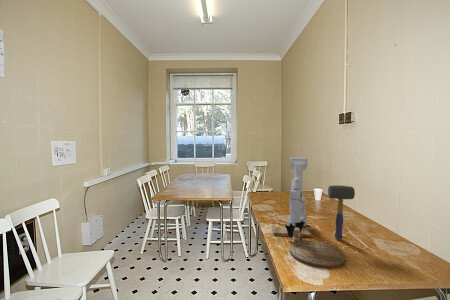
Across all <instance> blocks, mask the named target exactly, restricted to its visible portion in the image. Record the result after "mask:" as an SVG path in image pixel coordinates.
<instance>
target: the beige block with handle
mask: <svg viewBox="0 0 450 300" xmlns="http://www.w3.org/2000/svg"><path fill="white" fill-rule="evenodd" d="M291 239H292V241H294V242H297V241H301V237H300V230H299V228H298V227H296V226H295V229H294V232H293V238H291Z"/></svg>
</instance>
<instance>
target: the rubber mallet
mask: <svg viewBox="0 0 450 300" xmlns="http://www.w3.org/2000/svg"><path fill="white" fill-rule="evenodd" d="M327 195H328V198H330V199H336V200H337V212H336V216H335V232H334V238H335V240H337V241H341V240H342V239H343V237H344V236H343V225H344V214H343V210H344V209H343V205H344V200H354V198H355V195H356V192H355V188H354V187H353V186H349V185H340V184H339V185H334V184H333V185H329V186H328V188H327Z"/></svg>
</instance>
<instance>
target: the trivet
mask: <svg viewBox="0 0 450 300" xmlns="http://www.w3.org/2000/svg"><path fill="white" fill-rule="evenodd" d="M289 254H290V256H291V257H292V258H294V259H295V260H296V261H298V262H300V263H301V264H304V265H307V266H310V267H313V268H318V269H337V268H341V267H342V266H343V265H345V264H346V261H347V260H346V258H347V257H346V255H345V253H344V252H343V251H342V250H341V249H339V248H338V247H335V246H333V245H332V244H328V243H326V242H322V241H318V240H317V241H315V240H306V239H304V240H303V239H302V240H300V241H294V242H292V243H291V244H290V245H289Z"/></svg>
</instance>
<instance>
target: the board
mask: <svg viewBox="0 0 450 300" xmlns="http://www.w3.org/2000/svg"><path fill="white" fill-rule="evenodd" d="M271 232H272V235H273V236H276V237H277V236H280V237H289V236H288V232H287V229H286V227H280V226H279V227H278V226H272V227H271ZM312 236H313V235H312V233H311V231H310V230H309V229H308V228H303V227H302V230H301V233H300V238H312Z"/></svg>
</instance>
